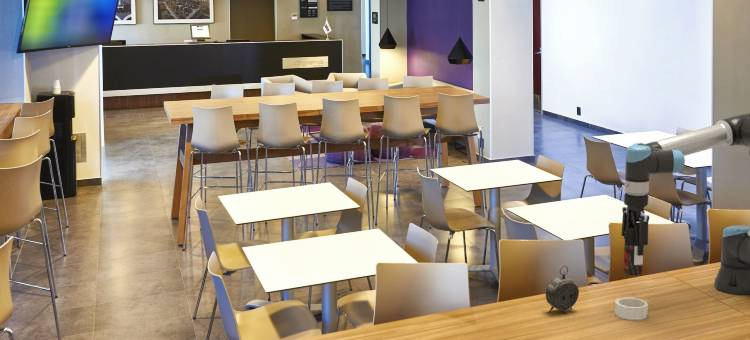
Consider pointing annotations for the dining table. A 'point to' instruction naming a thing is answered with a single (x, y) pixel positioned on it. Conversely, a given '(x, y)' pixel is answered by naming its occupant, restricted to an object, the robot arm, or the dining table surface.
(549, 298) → the alarm clock
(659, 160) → the robot arm
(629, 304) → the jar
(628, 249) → the deodorant
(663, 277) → the dining table surface
